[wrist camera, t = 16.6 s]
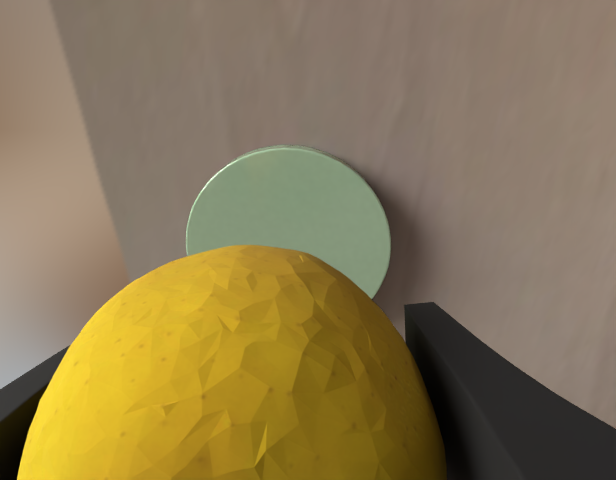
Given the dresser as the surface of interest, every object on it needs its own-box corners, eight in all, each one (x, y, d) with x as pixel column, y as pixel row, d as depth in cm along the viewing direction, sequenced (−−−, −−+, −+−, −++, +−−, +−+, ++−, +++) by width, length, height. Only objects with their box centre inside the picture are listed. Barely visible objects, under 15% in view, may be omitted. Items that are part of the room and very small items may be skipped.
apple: (362, 416, 13) (431, 920, 5) (145, 382, 12) (-117, 874, 5) (423, 215, 10) (722, 623, 3) (156, 166, 10) (-341, 481, 2)
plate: (427, 258, 18) (431, 266, 17) (278, 357, 20) (277, 368, 19) (303, 98, 16) (302, 99, 15) (149, 230, 18) (142, 237, 17)
